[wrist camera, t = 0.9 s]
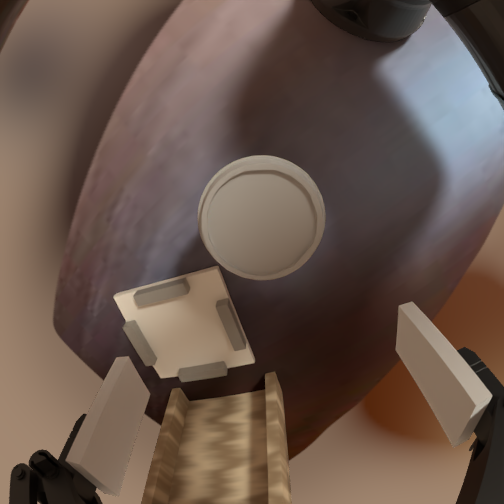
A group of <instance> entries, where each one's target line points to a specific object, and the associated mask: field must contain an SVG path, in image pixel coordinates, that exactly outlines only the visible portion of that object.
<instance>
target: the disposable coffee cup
mask: <svg viewBox="0 0 504 504" xmlns="http://www.w3.org/2000/svg"><path fill="white" fill-rule="evenodd" d="M325 221H326V218H325V206H324V202H323V198H322V195H321V193H320V191H319V189H318V187H317V185H316V184H315V182H314V181H313V180H312V179H311V177H310V176H309V175H308V174H307V173H306V172H305V171H304V170H302V169H301V168H300V167H299V166H297V165H295V164H293V163H292V162H290V161H288V160H285V159H282V158H278V157H275V156H267V155H257V156H249V157H245V158H242V159H239V160H236V161H234V162H232V163H230V164H228V165H227V166H225V167H224V168H222V169H221V170H220V171H219V172H218V173H217V174H215V175H214V176H213V178H212V179H211V180H210V182H209V183H208V184H207V186H206V188H205V190H204V192H203V194H202V196H201V200H200V203H199V207H198V228H199V232H200V235H201V239H202V241H203V243H204V245H205V247H206V249H207V250H208V252H209V253H210V254H211V255H212V257H213V258H214V259H215V260H216V261H217V262H218V263H219V264H221V265H222V266H223V267H224V268H225V269H226V270H228V271H230V272H232V273H234V274H236V275H238V276H240V277H243V278H248V279H253V280H273V279H276V278H280V277H284V276H286V275H288V274H290V273H292V272H294V271H295V270H297V269H299V268H300V267H301V266H302V265H303V264H304V263H305V262H306V261H307V260H308V259H309V258H310V257H311V256H312V254H313V253H314V251H315V250H316V248H317V247H318V245H319V243H320V241H321V239H322V236H323V232H324V227H325Z"/></svg>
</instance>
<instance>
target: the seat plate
mask: <svg viewBox="0 0 504 504" xmlns="http://www.w3.org/2000/svg"><path fill="white" fill-rule="evenodd" d="M113 298H114V300H115V301H116V303H117V305H118V307H119V309H120V311H121V313H122V315H123V316H124V318H125V320H126V323H125V325H124V326H123V330H124V331H125V333H126V335H127V336H128V338H129V340H130V341H131V343H132V345H133V346H134V348H135V350H136V351H137V353H138V354H139V356H140V358H141V359H142V361H143V362H144V364H145V365H146V366H152V365H153V367H154V369H155V370H156V372H157V373H158V375H159V376H160V378H168V377H176V376H178V377H179V379H180V380H181V382H188V381H195V380H202V379H208V378H215V377H221V376H226V375H227V370H228V368H232V367H237V366H242V365H247V364H252V363H255V357H254V355H253V352H252V350H251V348H250V345H249V343H248V340H247V338H246V335H245V333H244V330H243V328H242V325H241V323H240V320H239V318H238V315H237V313H236V310H235V307H234V305H233V302H232V300H231V297H230V295H229V292H228V289H227V287H226V284H225V282H224V279H223V276H222V274H221V271H220V268H219V266H218V265H217V266H214V267H210V268H207V269H203V270H199V271H196V272H192V273H189V274H185V275H181V276H178V277H174V278H171V279H167V280H163V281H160V282H156V283H152V284H149V285H145V286H141V287H138V288H134V289H131V290H127V291H123V292H120V293H116V294H115V295H114V297H113Z"/></svg>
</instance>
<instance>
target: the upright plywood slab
mask: <svg viewBox="0 0 504 504" xmlns="http://www.w3.org/2000/svg"><path fill="white" fill-rule="evenodd" d="M141 504H292V501H291V488H290V475H289V462H288V450H287V438H286V426H285V415H284V404H283V393H282V390H281V387H280V384H279V382H278V379H277V376H276V374H275V372H271V373H266V374H265V390H260V391H255V392H249V393H243V394H237V395H231V396H225V397H218V398H211V399H203V400H195V401H189V400H188V399H187V397H186V396H185V394H184V393H183V391H182V390H181V388H174V389H172V391H171V394H170V398H169V401H168V405H167V408H166V412H165V415H164V419H163V422H162V426H161V429H160V433H159V437H158V440H157V444H156V447H155V451H154V455H153V459H152V462H151V466H150V470H149V474H148V478H147V482H146V486H145V490H144V493H143V498H142V502H141Z"/></svg>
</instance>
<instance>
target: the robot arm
mask: <svg viewBox="0 0 504 504" xmlns="http://www.w3.org/2000/svg"><path fill="white" fill-rule="evenodd" d="M311 1H312V3H313V4H314V5H315V7H316V8H317V9H318V10H319V11H320V12H321V13H322V14H323V15H324V16H325V17H326V18H327V19H328V20H330V21H331V22H332V23H334V24H335V25H337V26H338V27H340V28H341V29H343V30H345V31H347V32H349V33H351V34H353V35H355V36H358V37H361V38H364V39H367V40H371V41H377V42H394V41H398V40H401V39H404V38H406V37H407V36H409V35H411V34H412V33H414V32H415V31H417V30H418V29H419V28H420V27H421V25H422V24H423V22H424V20H425V17H426V14H427V12H428V10H429V8H430V6H431V4H433V5H434V6H435V8H436V9H437V10H438V11H439V12H440V13H441V15H442V16H443V17H444V18H445V20H446V21H447V22H448V23H449V25H450V26H451V27H452V29H453V30H454V31H455V33H456V34H457V35H458V37H459V38H460V39H461V41H462V42H463V44H464V45H465V46H466V48H467V49H468V51H469V52H470V54H471V55H472V57H473V58H474V60H475V61H476V63H477V65H478V66H479V68H480V69H481V71H482V73H483V74H484V76H485V78H486V79H487V81H488V83H489V88H490V90H491V92H492V93H493V95H494V96H495V97H496V98H497V99H498V101H499V103H500V104H501V106H502V108H503V110H504V0H311ZM396 351H397V353H398V355H399V356H400V358H401V359H402V361H403V362H404V364H405V365H406V367H407V369H408V370H409V372H410V374H411V375H412V376H413V378H414V380H415V382H416V383H417V385H418V387H419V388H420V390H421V391H422V393H423V395H424V397H425V398H426V400H427V402H428V403H429V405H430V407H431V409H432V410H433V412H434V414H435V415H436V417H437V419H438V421H439V423H440V424H441V426H442V428H443V430H444V431H445V433H446V435H447V437H448V439H449V441H450V443H451V444H452V446H453V448H454V447H456V446H458V445H460V444H462V443H463V442H465V441H467V440H469V438H470V437H471V435H472V433H473V432H474V433H475V434H476V436H477V438H476V439H475V441H474V442H473V444H472V445H471V447H470V449H469V451H471V450H472V449H473V452H472V455H471V459H470V463H469V466H468V469H467V473H466V476H465V479H464V482H463V485H462V488H461V491H460V494H459V496H458V499H457V502H456V504H504V387H503V385H502V384H501V383H500V382H499V380H498V379H497V378H496V377H495V376H494V374H493V373H492V372H491V371H490V370H489V368H487V367H486V365H485V364H484V363H483V362H481V359H480V358H479V357H478V356H477V355H476V354H475V352H473V351H471V350H469V349H467V348H466V347H464V348H462V349H459V350H457V351H456V350H455V348H454V347H453V346H452V345H451V344H450V343H449V341H448V340H447V339H446V338H445V337H444V336H443V335H442V334H441V332H440V331H439V330H438V329H437V328H436V327H435V326H434V324H433V323H432V322H431V321H430V320H429V319H428V318H427V317H426V316H425V315H424V313H423V312H422V311H421V310H420V309H419V308H418V307H417V306H416V305H415V304H414V303H413V302H409V303H406V304H403V305H399V309H398V327H397V341H396ZM149 397H150V393H149V391H148V389H147V388H146V386H145V384H144V383H143V381H142V379H141V377H140V376H139V374H138V372H137V370H136V369H135V367H134V365H133V363H132V361H131V360H130V358H129V356H128V357H116V359H115V361H114V363H113V365H112V367H111V368H110V370H109V372H108V374H107V376H106V378H105V380H104V382H103V384H102V385H101V387H100V390H99V391H98V393H97V395H96V397H95V399H94V401H93V403H92V405H91V407H90V409H89V411H88V413H87V414H83V415H82V416H81V417H80V418H79V419H78V420H77V421H76V423H75V425H74V428H73V431H72V432H71V434H70V438H68V440H67V442H66V444H65V446H64V448H63V451H62V452H61V455H60V457H59V459H58V460H57V459H56V458H55V457H53V456H52V455H51V454H50V453H49V452H48V451H47V450H39V451H37V452H35V453H34V454H33V455H32V456H31V458H30V460H29V466H27V465H26V464H24V463H20V464H18V465H16V466H15V467H14V468H13V470H12V473H11V480H10V497H9V504H37V501H38V502H39V503H40V504H102V502H101V500H100V497H99V496H98V494H97V493H96V492H95V491H96V488H98V489H99V490H101V491H102V492H103V493H105V494H109V495H114V496H119V493H120V490H121V486H122V483H123V479H124V476H125V472H126V469H127V466H128V462H129V459H130V456H131V452H132V449H133V446H134V443H135V440H136V436H137V433H138V430H139V427H140V423H141V421H142V417H143V415H144V412H145V409H146V406H147V403H148V400H149ZM473 447H474V448H473ZM32 469H33V470H32Z"/></svg>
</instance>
